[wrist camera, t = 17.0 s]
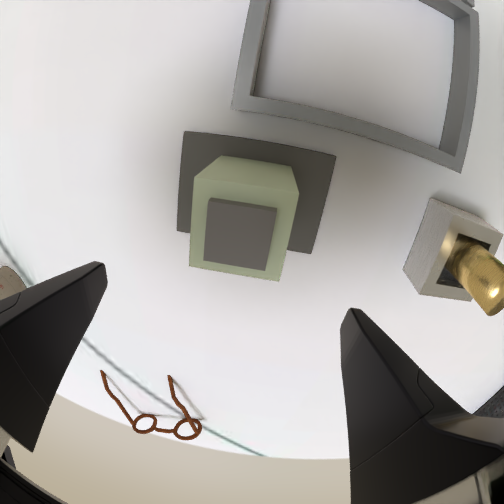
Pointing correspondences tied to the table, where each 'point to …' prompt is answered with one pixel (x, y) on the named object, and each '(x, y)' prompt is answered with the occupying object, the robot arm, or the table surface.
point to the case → (453, 137)
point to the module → (242, 217)
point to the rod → (478, 273)
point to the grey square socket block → (444, 249)
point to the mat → (301, 161)
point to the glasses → (153, 427)
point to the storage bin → (493, 406)
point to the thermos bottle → (9, 283)
